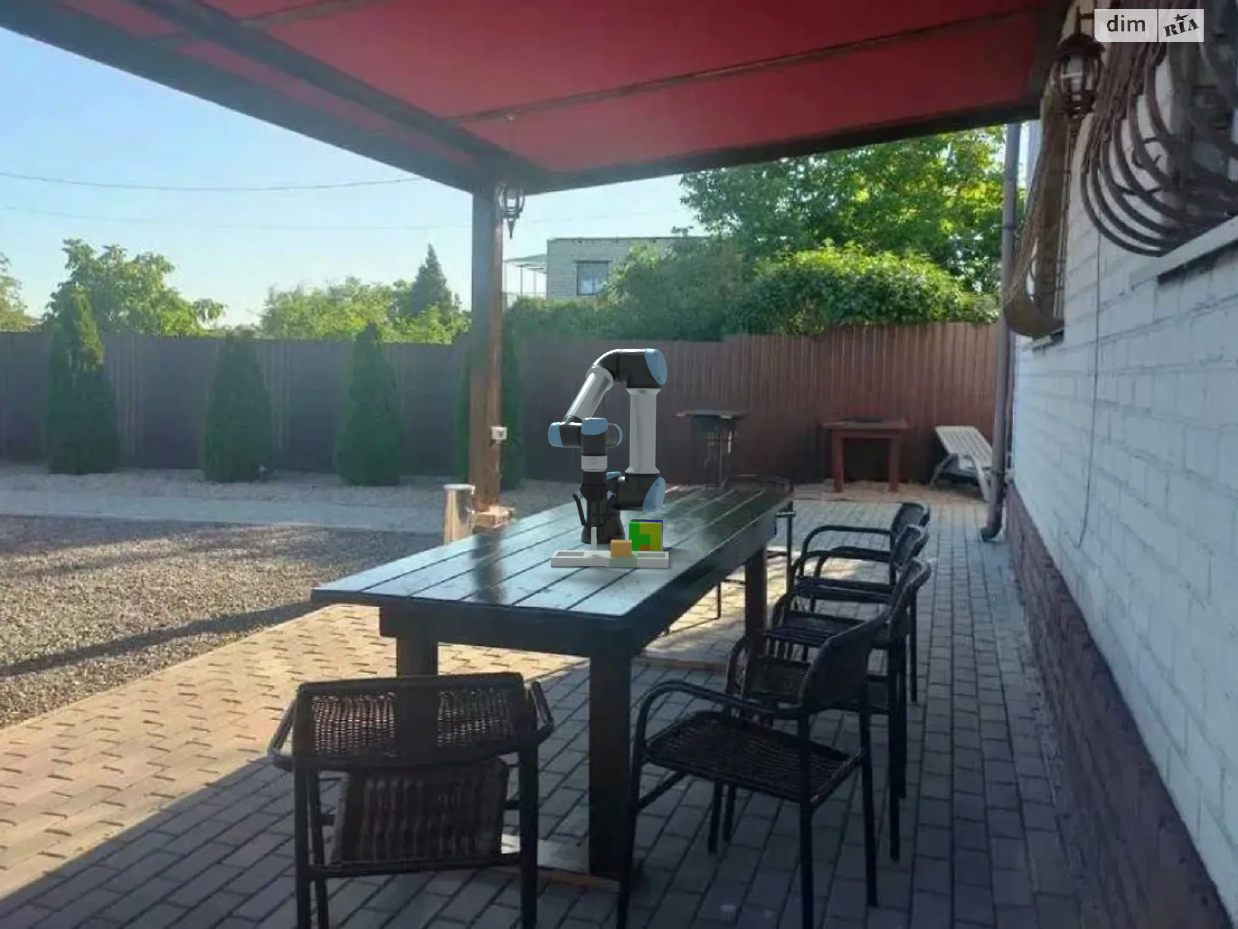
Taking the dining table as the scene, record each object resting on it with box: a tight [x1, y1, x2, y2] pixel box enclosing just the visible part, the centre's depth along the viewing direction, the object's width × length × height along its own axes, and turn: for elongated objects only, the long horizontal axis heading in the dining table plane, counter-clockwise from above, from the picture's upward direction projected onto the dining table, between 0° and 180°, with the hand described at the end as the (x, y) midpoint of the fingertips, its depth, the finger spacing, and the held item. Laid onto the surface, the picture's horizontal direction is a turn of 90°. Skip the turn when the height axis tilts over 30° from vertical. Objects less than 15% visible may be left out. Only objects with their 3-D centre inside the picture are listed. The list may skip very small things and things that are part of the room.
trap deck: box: [550, 549, 669, 569], centre depth 298 cm, size 14×34×2 cm, turn 87°
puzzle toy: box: [628, 518, 664, 552], centre depth 317 cm, size 10×10×10 cm
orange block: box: [609, 539, 632, 557], centre depth 298 cm, size 6×6×4 cm
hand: (593, 549), depth 298 cm, fingers closed
